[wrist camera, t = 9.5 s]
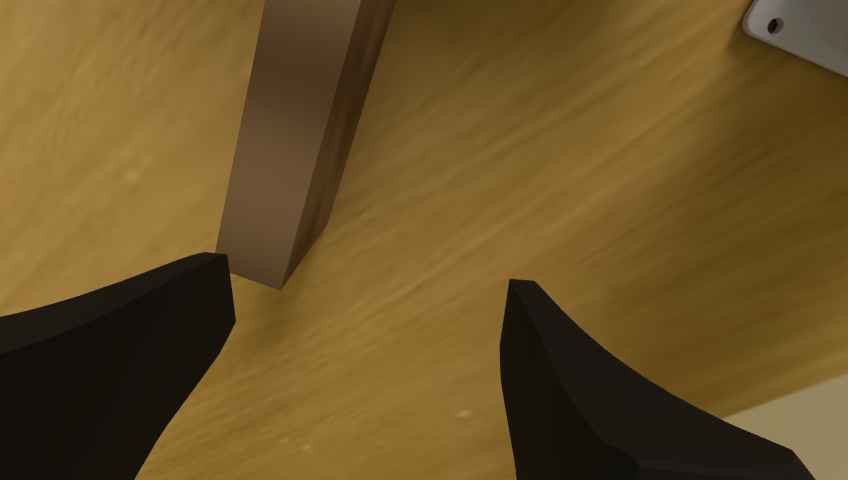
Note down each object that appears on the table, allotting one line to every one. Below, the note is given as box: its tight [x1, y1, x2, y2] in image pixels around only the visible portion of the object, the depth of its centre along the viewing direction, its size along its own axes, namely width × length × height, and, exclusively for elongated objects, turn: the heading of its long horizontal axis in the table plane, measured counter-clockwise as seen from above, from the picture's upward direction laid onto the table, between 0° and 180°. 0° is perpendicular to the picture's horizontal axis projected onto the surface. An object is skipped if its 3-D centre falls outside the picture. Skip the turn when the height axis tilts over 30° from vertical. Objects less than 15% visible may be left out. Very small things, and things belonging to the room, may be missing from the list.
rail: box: [215, 0, 395, 290], centre depth 15 cm, size 17×3×6 cm, turn 160°
